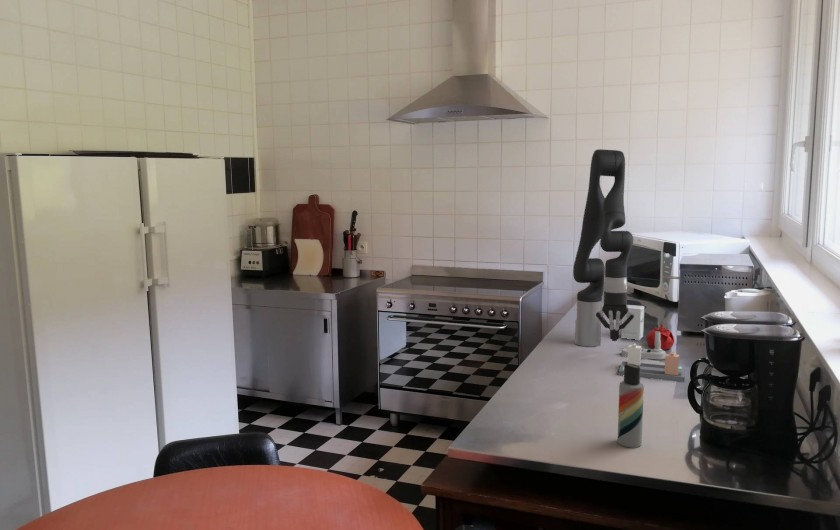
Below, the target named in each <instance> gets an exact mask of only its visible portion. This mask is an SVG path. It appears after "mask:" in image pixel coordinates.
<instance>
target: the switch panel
mask: <svg viewBox="0 0 840 530" xmlns="http://www.w3.org/2000/svg"><path fill="white" fill-rule="evenodd" d="M626 364H628V360H626V361H625V360H622V361H621V365H620V367H619V370H618V376H622V375H624V365H626ZM637 366H638V365H637ZM639 367H640V368H641V369H640V378H641V377H643V379H651V378H653V379H652V380H661V379H662V380H664V381H671V382H672V381H673V382H681V381H685V380H686V379H685V377H686V367H685V366H679V367H678V375H669V374H665V364H657V363H648V362H647V363H646V362H641V364H640V366H639ZM644 377H645V378H644ZM662 380H661V381H662Z"/></svg>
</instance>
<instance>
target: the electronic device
mask: <svg viewBox="0 0 840 530" xmlns="http://www.w3.org/2000/svg"><path fill="white" fill-rule="evenodd" d="M660 346H661V340H660V332H659V331H656V332H655V348H654V349H653V348H641V359H642V358H643V359H644V360H658V361H659V360H661V361H662V360H665V356H666V354H667V352H666V350H662V349H661V347H660ZM622 355H623V356H622ZM621 356H622V357H624V356H626V358H628V347H625V348H622V349H621Z"/></svg>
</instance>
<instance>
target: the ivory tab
mask: <svg viewBox="0 0 840 530" xmlns="http://www.w3.org/2000/svg"><path fill="white" fill-rule="evenodd" d="M627 348H628V357H627V362H628V364H635V365H638V366H640V364H641V363H642V361H641V360H642V358H641V349H642V345H637V343H635V342H634V343H633V344H629V345H628V347H627Z"/></svg>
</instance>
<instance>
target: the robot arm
mask: <svg viewBox="0 0 840 530" xmlns="http://www.w3.org/2000/svg"><path fill="white" fill-rule="evenodd" d="M590 161H591V162H590V167H589V168H590V171H589V181H588V189H587V196H586V202H585V207H584V212H583V219H582V225H581V232H580V237H579V243H578V247H577V251H576V255H575V259H574V263H573V269H572V271H573V272H572V274H573V275H572V276H573V278H574V279H573V280H574V281H575V282H576V283H580V284H586V283H587V284H588V283H589V284H588V286H587V287H586V288H583V289H582V290H580V291H578V293H577V294H576V319H575V328H574V329H575V330H574V344H575V345H578V346H582V347H598V346H601V343H602V342H601V341H602V339H601V338H602V326H603V327H604V328H605V329H609V339H610V340H611V341H612V342H617V341H618V340H619V338H620V330H622V329H624V328H625V327H626V326H627V324H628V323H629V322H630V321H631V320H632V319H633V318H634V314H632V313H630V312H629V311H628V307H627V305H628V262H629V258H630V254H631V252H632V251H631V250H632V248H633V245H634V235H633V234H632V232H631V231H629V230H617V229H620V228H623V226H625V224H626V211H625V200H624V195H625V194H624V193H625V180H626V179H625V178H626V177H625V176H626V175H625V174H626V158H625V154H624V152H623V151H621V150H618V149H617V150H616V149H615V150H614V149H601V148H600V149H595V150H594V151H593V153H592V157H591V160H590ZM601 177H613V178H614V182H613V184H612V187H611V189H610V190H609V192H608V193H607V195H606V196H604V193H603V191H602V187H601V180H600V178H601ZM598 242H599V246H600V248H601V250H602V251H604V252H607V253H620V254H619V255H618V256H617V257H614V258H610V259H607V260H606V261H605V264H604V261H603V259H601V258H599V257H595V258H594V257H593V258H592V257H591V258H590V256H591V254H592V250H593V249H594V248H595V246H596V245H597V244H598ZM602 300H603V302H602ZM602 303H603V304H602ZM626 314H627V316H626V318H627V319H626V320H625V322H624V323H623V324H622V323H621V321H622V318H623V317H624V316H625V315H626ZM605 316H606V318H607V319H608V321H609V322H608V321H607V319H606V318H605Z"/></svg>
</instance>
